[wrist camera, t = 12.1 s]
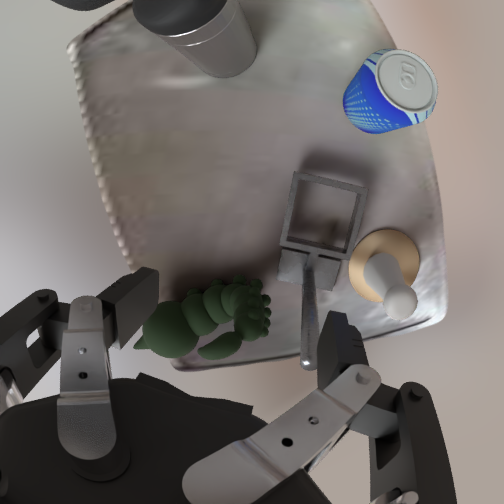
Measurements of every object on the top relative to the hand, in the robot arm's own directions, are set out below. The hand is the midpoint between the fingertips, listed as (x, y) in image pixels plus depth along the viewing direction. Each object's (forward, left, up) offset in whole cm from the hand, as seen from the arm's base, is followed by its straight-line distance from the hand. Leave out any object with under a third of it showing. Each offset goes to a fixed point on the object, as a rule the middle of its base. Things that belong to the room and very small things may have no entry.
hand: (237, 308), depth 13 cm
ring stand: (+3, +6, -30) cm, 31 cm away
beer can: (-17, +10, -30) cm, 36 cm away
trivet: (+6, +18, -30) cm, 36 cm away
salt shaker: (+6, +17, -30) cm, 35 cm away
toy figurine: (+19, -9, -30) cm, 37 cm away
